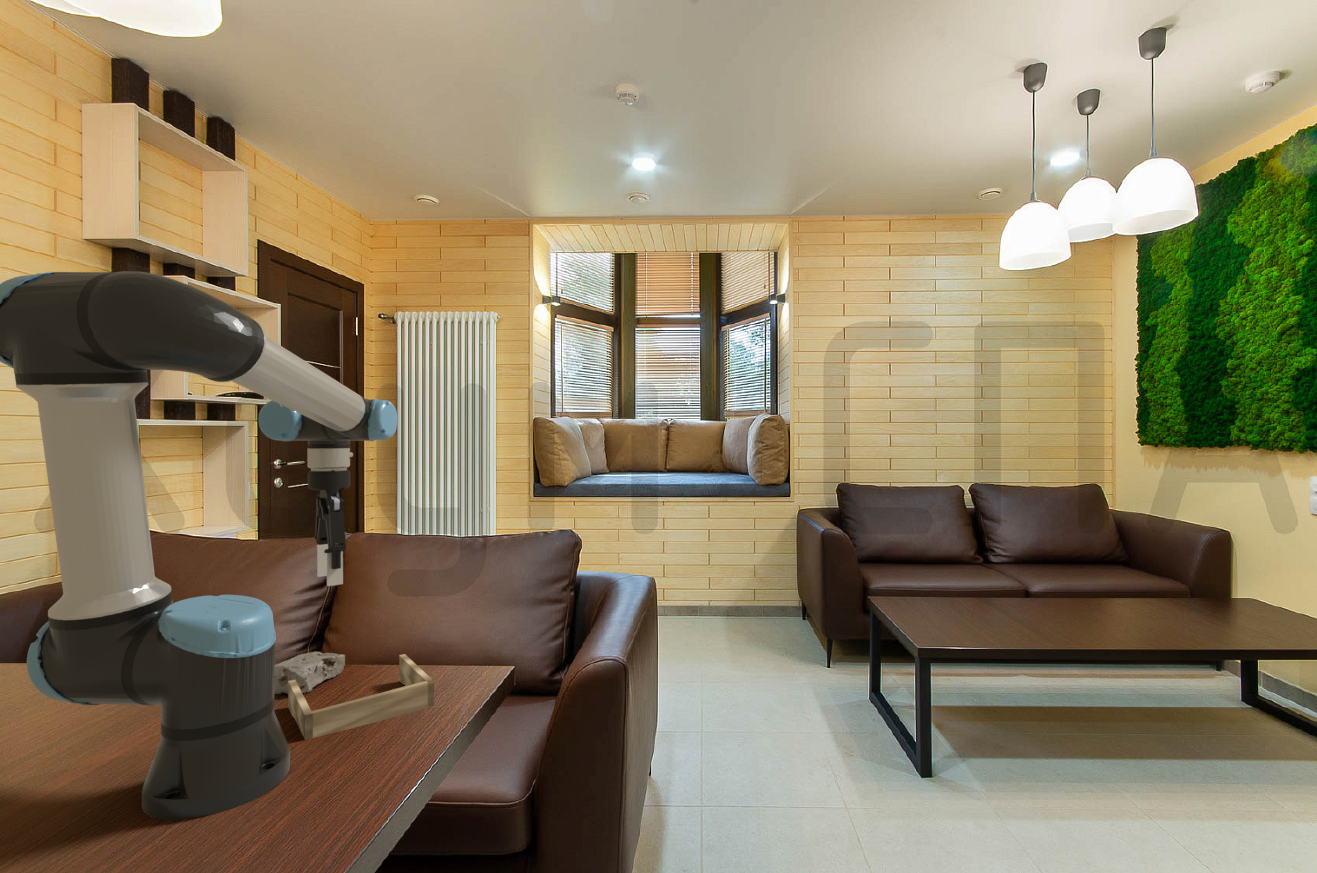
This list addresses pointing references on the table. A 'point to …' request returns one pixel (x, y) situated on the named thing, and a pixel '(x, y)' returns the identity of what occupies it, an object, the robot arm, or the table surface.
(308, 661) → the stone
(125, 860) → the table surface
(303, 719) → the bracket
